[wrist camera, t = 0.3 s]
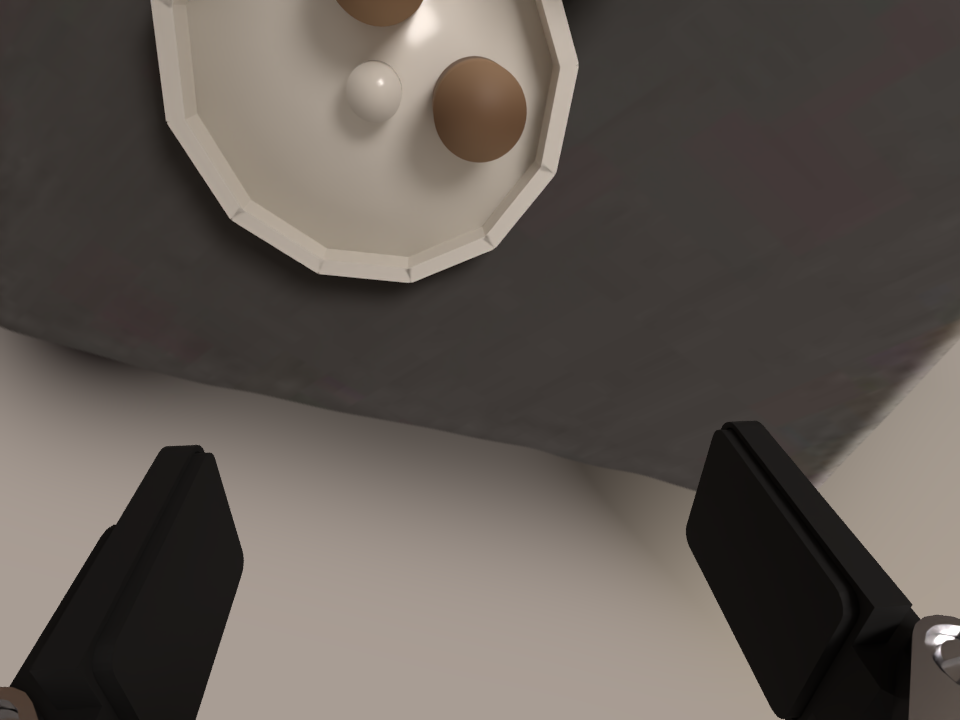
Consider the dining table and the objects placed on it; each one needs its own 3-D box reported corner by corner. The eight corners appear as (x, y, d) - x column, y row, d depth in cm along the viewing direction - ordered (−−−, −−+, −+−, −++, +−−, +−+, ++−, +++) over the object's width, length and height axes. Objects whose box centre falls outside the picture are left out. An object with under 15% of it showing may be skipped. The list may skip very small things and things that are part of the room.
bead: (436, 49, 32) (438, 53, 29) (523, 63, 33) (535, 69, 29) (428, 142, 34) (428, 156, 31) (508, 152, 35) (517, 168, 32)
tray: (149, -209, 26) (120, -232, 24) (601, -112, 30) (618, -123, 27) (199, 243, 37) (183, 260, 35) (523, 277, 41) (530, 294, 38)
